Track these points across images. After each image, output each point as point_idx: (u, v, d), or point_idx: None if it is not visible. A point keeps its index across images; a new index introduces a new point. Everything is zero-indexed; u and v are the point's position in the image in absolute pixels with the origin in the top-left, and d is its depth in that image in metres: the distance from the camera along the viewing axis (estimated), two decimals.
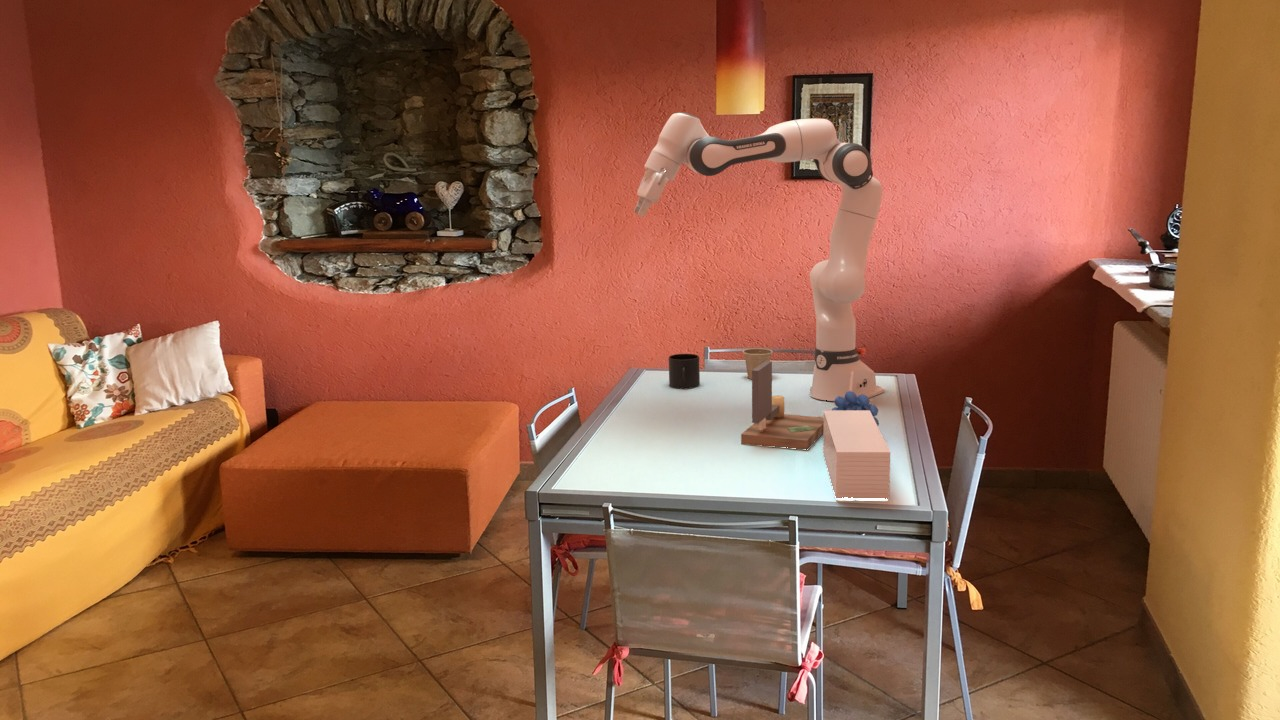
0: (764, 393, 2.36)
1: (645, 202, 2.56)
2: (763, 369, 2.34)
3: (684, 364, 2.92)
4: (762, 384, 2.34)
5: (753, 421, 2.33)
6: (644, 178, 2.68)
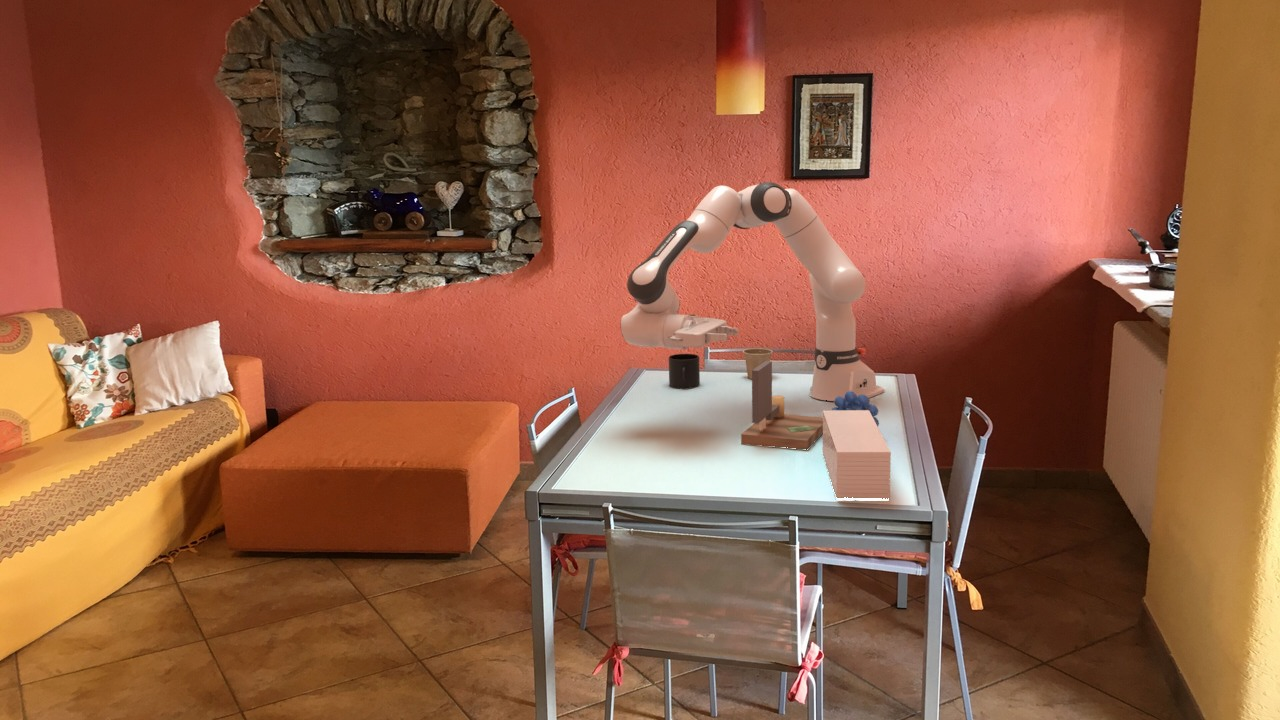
0: (764, 393, 2.36)
1: (710, 340, 2.35)
2: (763, 369, 2.34)
3: (684, 364, 2.92)
4: (762, 384, 2.34)
5: (753, 421, 2.33)
6: None
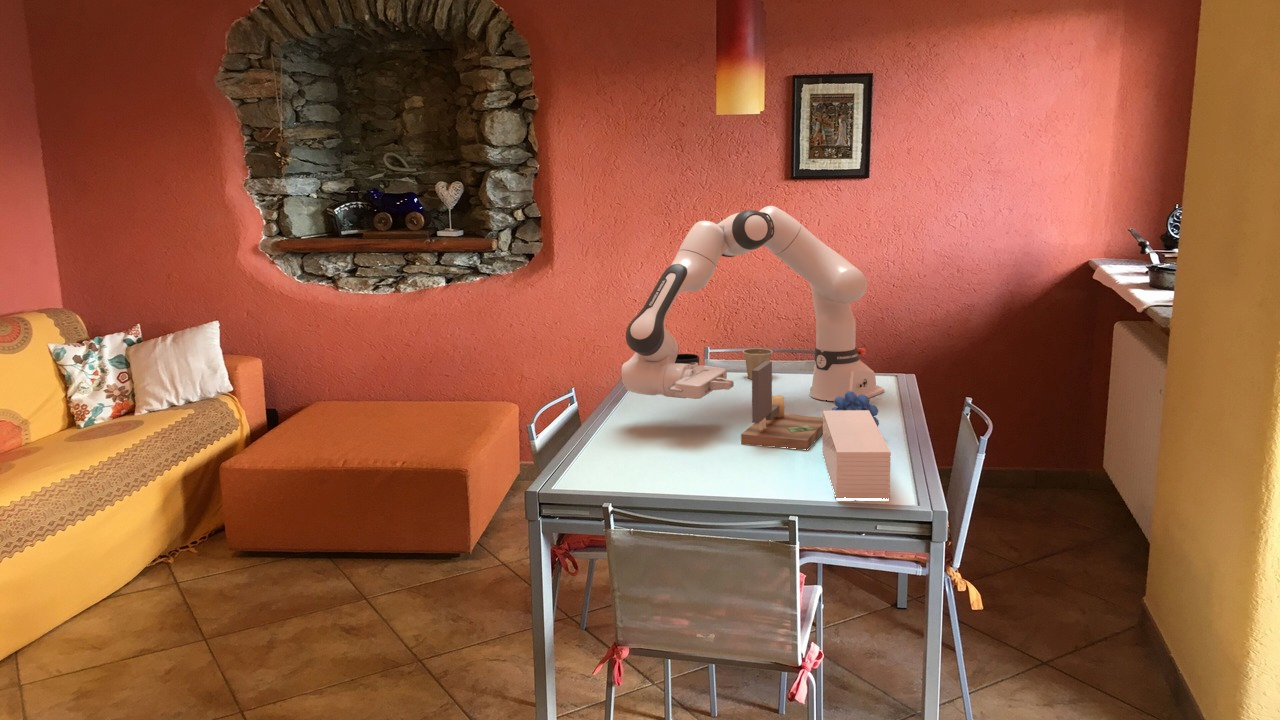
0: (764, 393, 2.36)
1: (714, 388, 2.41)
2: (763, 369, 2.34)
3: None
4: (762, 384, 2.34)
5: (753, 421, 2.33)
6: None
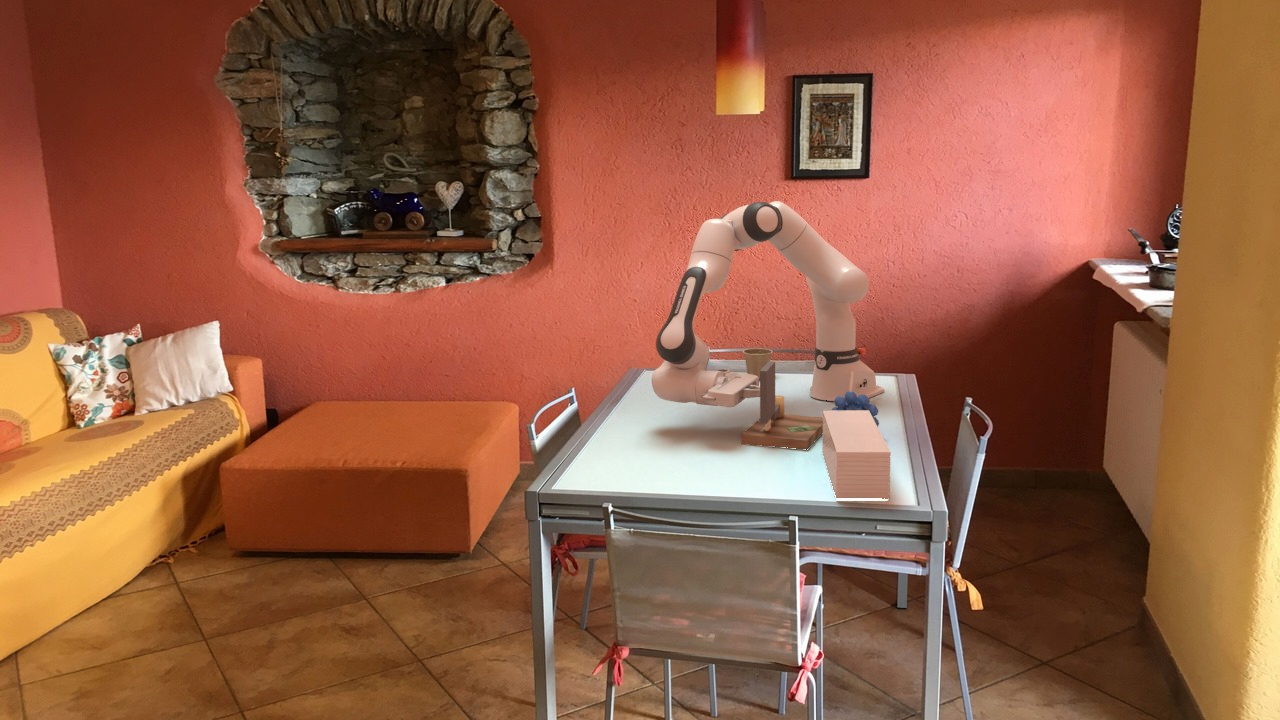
0: (770, 393, 2.35)
1: (747, 396, 2.38)
2: (769, 369, 2.33)
3: None
4: (769, 385, 2.33)
5: (761, 422, 2.33)
6: None
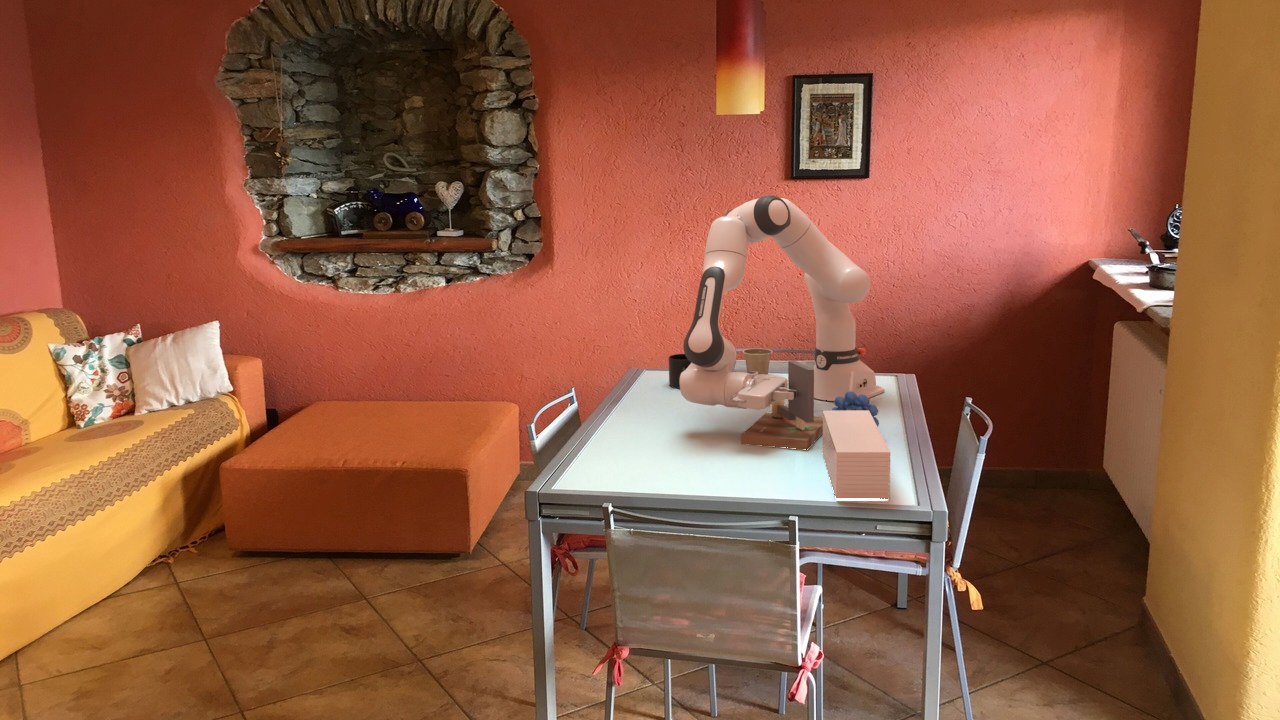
0: None
1: (777, 398, 2.34)
2: None
3: (684, 364, 2.92)
4: None
5: (808, 421, 2.32)
6: None
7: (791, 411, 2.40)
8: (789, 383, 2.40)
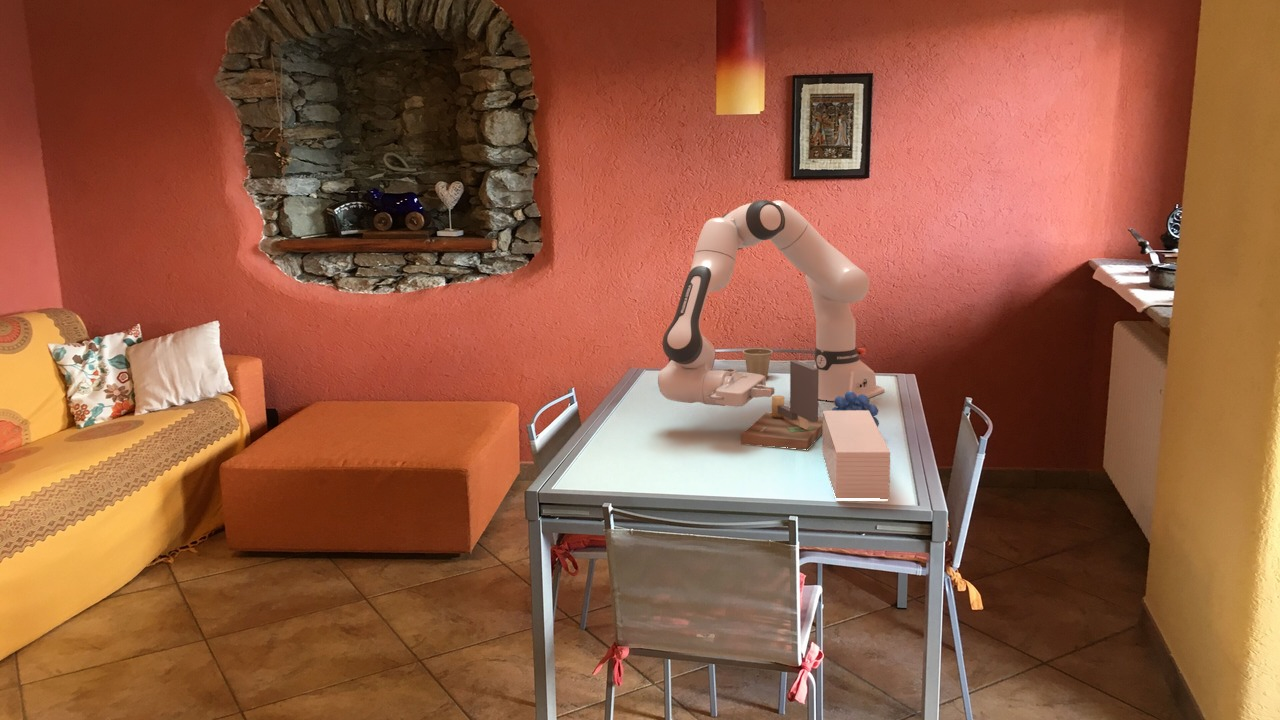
0: None
1: (755, 395, 2.36)
2: None
3: None
4: None
5: (813, 420, 2.32)
6: None
7: (793, 411, 2.41)
8: (791, 383, 2.40)
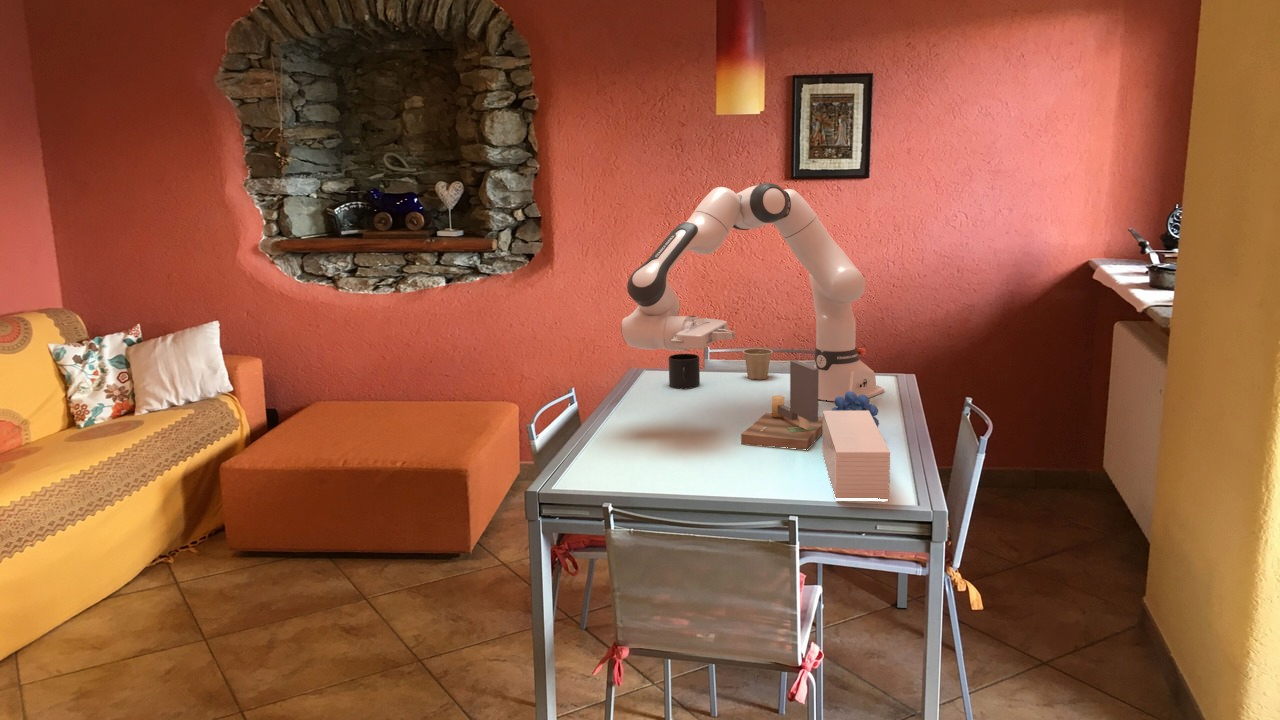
0: None
1: (715, 339, 2.38)
2: None
3: (684, 364, 2.92)
4: None
5: (813, 420, 2.32)
6: None
7: (793, 411, 2.41)
8: (791, 383, 2.40)
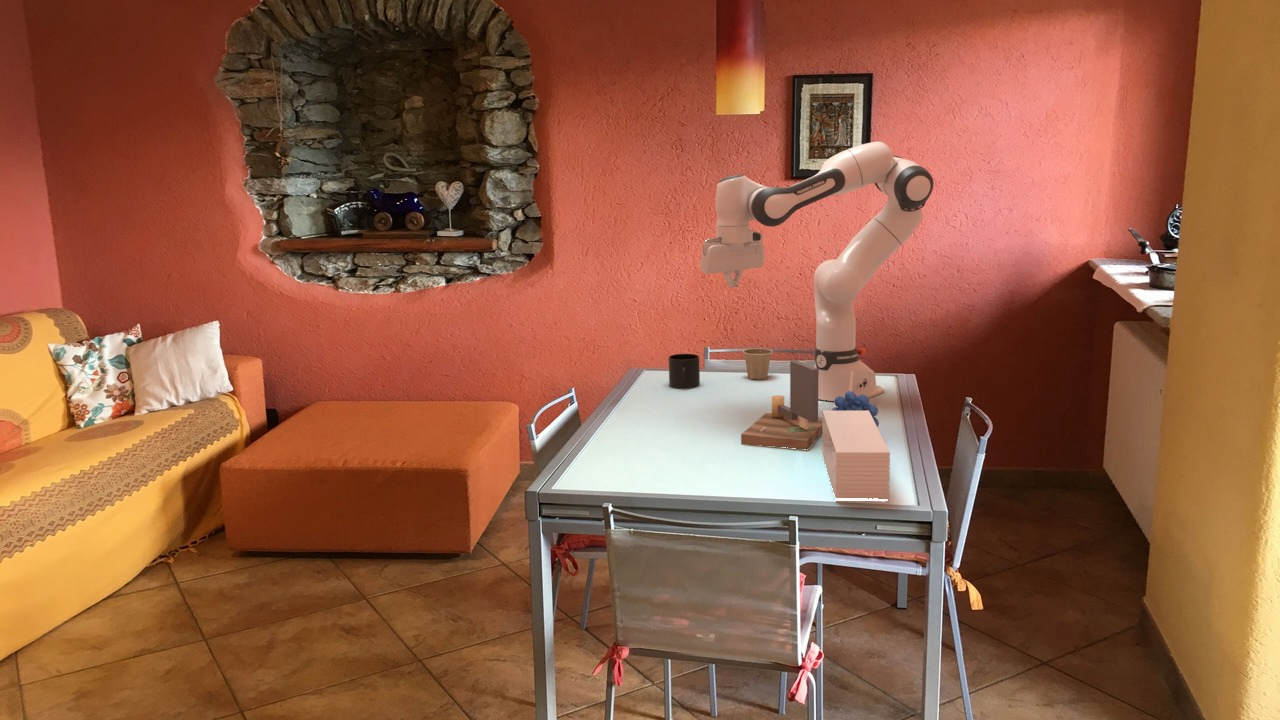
0: None
1: (724, 274, 2.62)
2: None
3: (684, 364, 2.92)
4: None
5: (813, 420, 2.32)
6: None
7: (793, 411, 2.41)
8: (791, 383, 2.40)
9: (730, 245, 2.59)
